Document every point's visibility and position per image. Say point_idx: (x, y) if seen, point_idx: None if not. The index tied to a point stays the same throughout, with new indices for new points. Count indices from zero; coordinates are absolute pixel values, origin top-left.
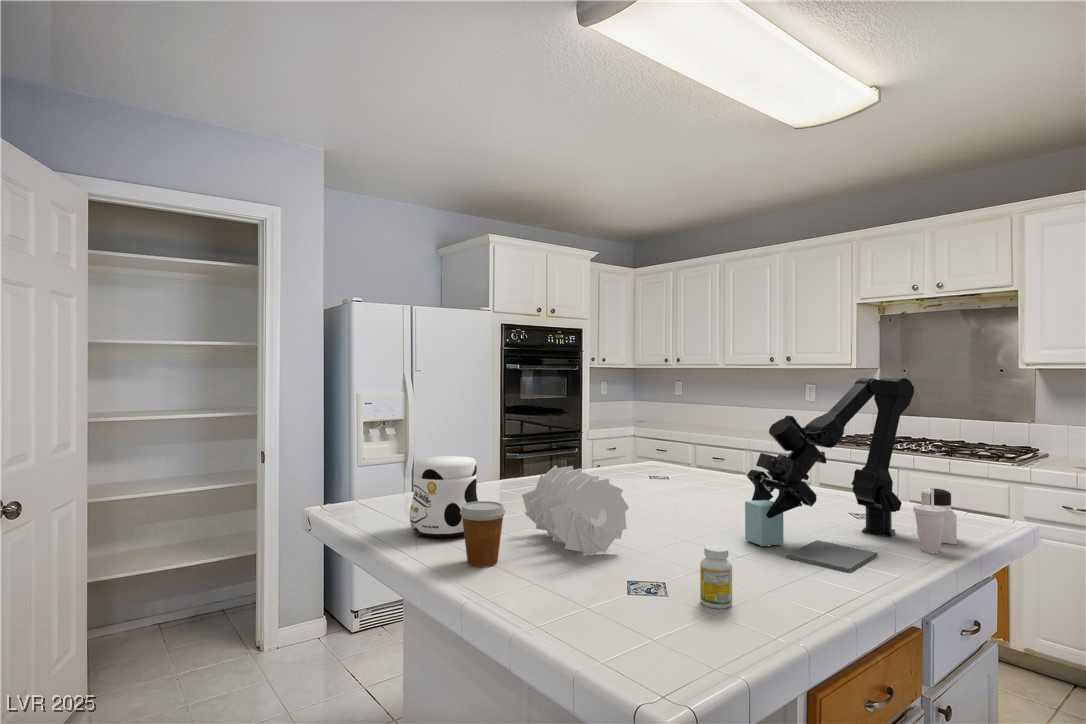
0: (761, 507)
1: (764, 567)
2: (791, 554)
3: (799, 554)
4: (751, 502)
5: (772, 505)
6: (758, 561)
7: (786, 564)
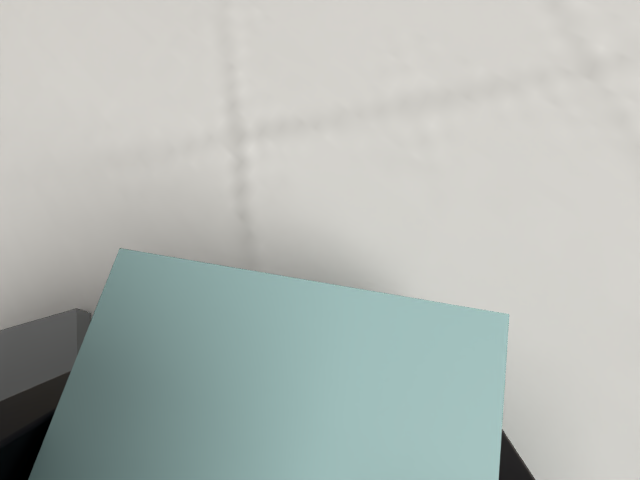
0: (124, 254)
1: (90, 129)
2: (54, 331)
3: (25, 372)
4: (382, 337)
5: (19, 424)
6: (146, 159)
7: (46, 236)
